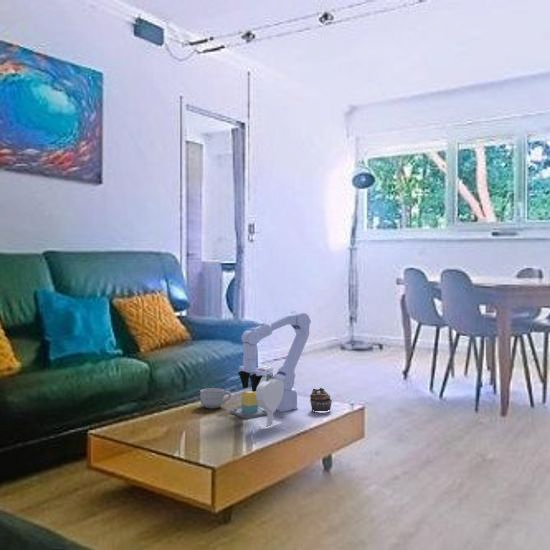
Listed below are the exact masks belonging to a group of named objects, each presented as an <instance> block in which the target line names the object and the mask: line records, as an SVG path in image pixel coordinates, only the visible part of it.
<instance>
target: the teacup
mask: <svg viewBox="0 0 550 550" xmlns="http://www.w3.org/2000/svg"><path fill="white" fill-rule="evenodd" d="M199 392H200V404H201V405H202V406H203V407H204V408H205V407H206V409H218V408H220V407H222V405H223V404H225V403H226V402H228V401H229V400H230V399H231V398H232V393H231V392H230V391H229V390H224V389H223V388H218V387H217V388H216V387H215V388H214V387H213V388H212V387H211V388H204V389H200V390H199ZM226 394H228V397H227V398H226V399H224V398H225V395H226Z"/></svg>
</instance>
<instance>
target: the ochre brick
mask: <svg viewBox="0 0 550 550" xmlns="http://www.w3.org/2000/svg"><path fill="white" fill-rule="evenodd" d="M242 404H243V405H246V406H252V405H258V406H259V404H258V402H257V399H256V391H254V392H253V391H252V390H247V391H244V392H241V405H242Z"/></svg>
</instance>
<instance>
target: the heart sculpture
mask: <svg viewBox="0 0 550 550" xmlns="http://www.w3.org/2000/svg"><path fill="white" fill-rule="evenodd" d="M255 393H256V399H257V402H258V407H260V409H262V410H265V411H266V412H267V415H266V416H267V417H266V420H267V421H266V423H264V424H261V425H260V426H266V427H268V426H271V425H273V424H275V423H277V422H276V421H277V420H274V413H275V411H277V410H276V409H277V407H278V406H279V404H280V402H281V400H282V397H283V393H284V382H283V381H282V380H276V379H269V380H268V382H267V381H263V382H261V383H260V384H259V385H258V386H257V388H256V391H255Z"/></svg>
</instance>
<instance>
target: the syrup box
mask: <svg viewBox="0 0 550 550" xmlns="http://www.w3.org/2000/svg"><path fill="white" fill-rule="evenodd" d="M257 369H258V370H260V371H261V375H262V378H261V380H260V382H259V384H260V383H261V382H263V381H267V382H268V380H269V379H273V376H274V367H273V366H269V365H264V366H263V365H262V366H259V367H257Z"/></svg>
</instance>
